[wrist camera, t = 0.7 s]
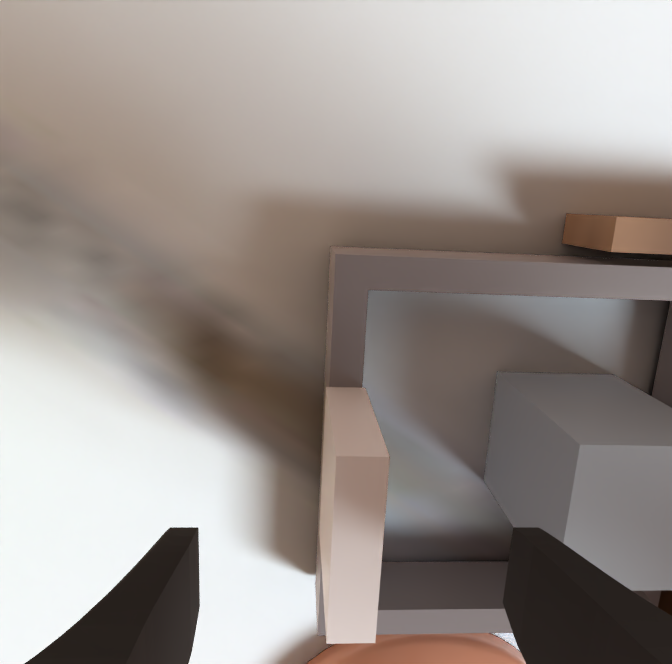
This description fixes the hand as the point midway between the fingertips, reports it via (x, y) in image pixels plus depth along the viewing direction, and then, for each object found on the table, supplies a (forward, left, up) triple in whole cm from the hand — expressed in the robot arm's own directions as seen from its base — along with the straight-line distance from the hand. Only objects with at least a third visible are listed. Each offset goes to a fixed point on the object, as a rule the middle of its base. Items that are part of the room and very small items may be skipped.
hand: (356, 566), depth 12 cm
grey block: (-8, 0, -8) cm, 11 cm away
